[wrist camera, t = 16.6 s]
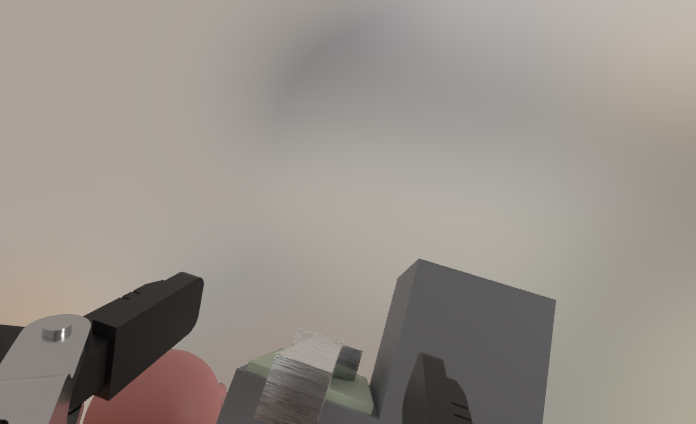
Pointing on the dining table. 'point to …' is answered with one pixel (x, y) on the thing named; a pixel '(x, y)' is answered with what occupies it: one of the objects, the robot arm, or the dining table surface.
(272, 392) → the flanged bar
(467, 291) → the stepped shelf
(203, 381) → the mauve oval ball
